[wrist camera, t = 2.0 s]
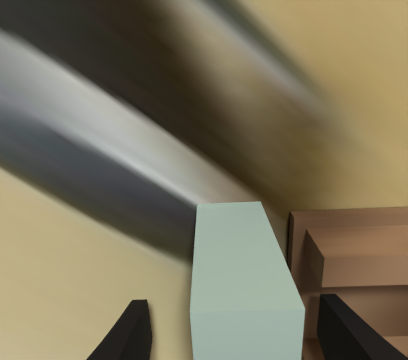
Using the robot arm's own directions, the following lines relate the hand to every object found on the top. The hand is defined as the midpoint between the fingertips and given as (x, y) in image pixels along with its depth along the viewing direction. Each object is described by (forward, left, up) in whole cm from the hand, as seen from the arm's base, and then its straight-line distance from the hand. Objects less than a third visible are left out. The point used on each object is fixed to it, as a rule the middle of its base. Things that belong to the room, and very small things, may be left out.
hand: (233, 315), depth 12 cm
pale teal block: (0, 0, -2) cm, 2 cm away
